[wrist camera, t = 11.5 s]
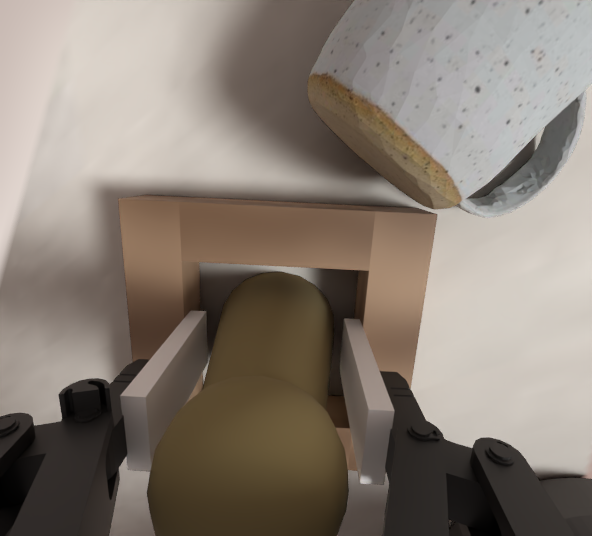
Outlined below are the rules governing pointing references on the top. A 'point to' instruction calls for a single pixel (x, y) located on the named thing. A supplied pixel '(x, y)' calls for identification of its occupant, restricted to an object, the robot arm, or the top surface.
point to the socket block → (278, 252)
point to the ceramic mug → (458, 93)
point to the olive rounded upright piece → (257, 424)
